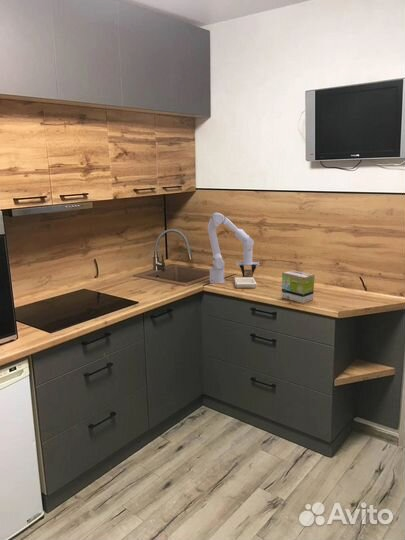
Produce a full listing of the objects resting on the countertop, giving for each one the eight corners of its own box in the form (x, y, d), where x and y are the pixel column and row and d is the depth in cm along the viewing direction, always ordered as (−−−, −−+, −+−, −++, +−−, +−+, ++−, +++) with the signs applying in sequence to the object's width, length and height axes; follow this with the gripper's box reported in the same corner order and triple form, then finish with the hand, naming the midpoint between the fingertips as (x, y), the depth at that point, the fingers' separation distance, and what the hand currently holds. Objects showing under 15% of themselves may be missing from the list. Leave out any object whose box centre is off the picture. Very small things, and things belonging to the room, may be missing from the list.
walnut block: (244, 279, 295) (244, 272, 294) (243, 277, 303) (243, 269, 301) (252, 279, 295) (252, 272, 294) (250, 276, 303) (250, 269, 301)
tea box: (280, 298, 259) (281, 272, 256) (291, 294, 266) (292, 269, 263) (303, 303, 249) (304, 276, 245) (313, 300, 255) (315, 273, 252)
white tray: (236, 289, 277) (236, 284, 276) (234, 282, 294) (234, 277, 293) (256, 289, 277) (256, 283, 276) (253, 282, 294) (253, 277, 293)
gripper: (237, 257, 291) (236, 278, 294) (260, 257, 292) (259, 277, 295) (236, 255, 298) (236, 275, 301) (258, 254, 299) (258, 275, 301)
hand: (247, 276), depth 298 cm, fingers closed on walnut block, 5 cm apart
